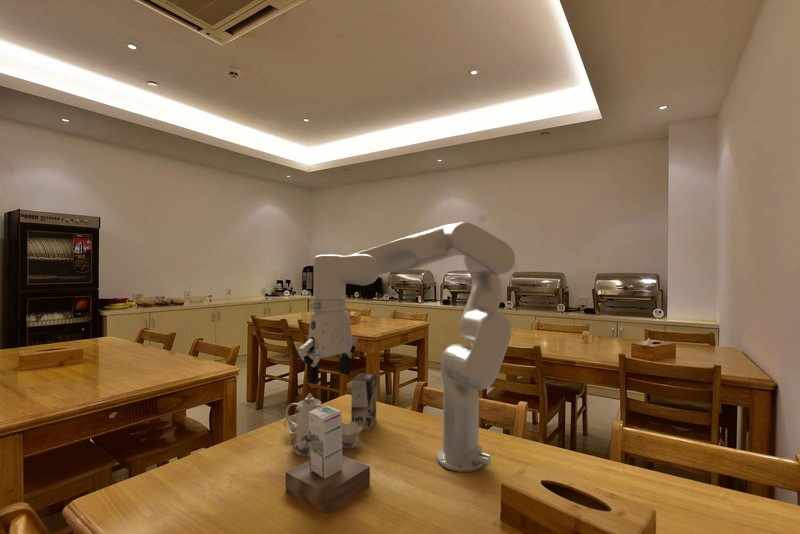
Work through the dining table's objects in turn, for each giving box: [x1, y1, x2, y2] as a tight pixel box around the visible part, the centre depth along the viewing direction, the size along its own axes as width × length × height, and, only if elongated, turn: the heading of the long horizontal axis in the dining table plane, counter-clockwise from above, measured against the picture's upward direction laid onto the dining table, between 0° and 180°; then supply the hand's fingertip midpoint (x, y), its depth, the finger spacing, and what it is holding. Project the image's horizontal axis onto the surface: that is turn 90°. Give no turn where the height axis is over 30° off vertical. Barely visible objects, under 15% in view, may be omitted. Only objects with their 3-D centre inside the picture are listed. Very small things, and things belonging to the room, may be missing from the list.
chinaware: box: [283, 393, 363, 457], centre depth 118 cm, size 28×17×17 cm, turn 70°
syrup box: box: [309, 404, 343, 479], centre depth 94 cm, size 6×6×14 cm
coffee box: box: [350, 372, 378, 432], centre depth 132 cm, size 9×6×16 cm
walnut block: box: [285, 454, 371, 515], centre depth 95 cm, size 14×14×5 cm
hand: (329, 378), depth 95 cm, fingers open, 9 cm apart
